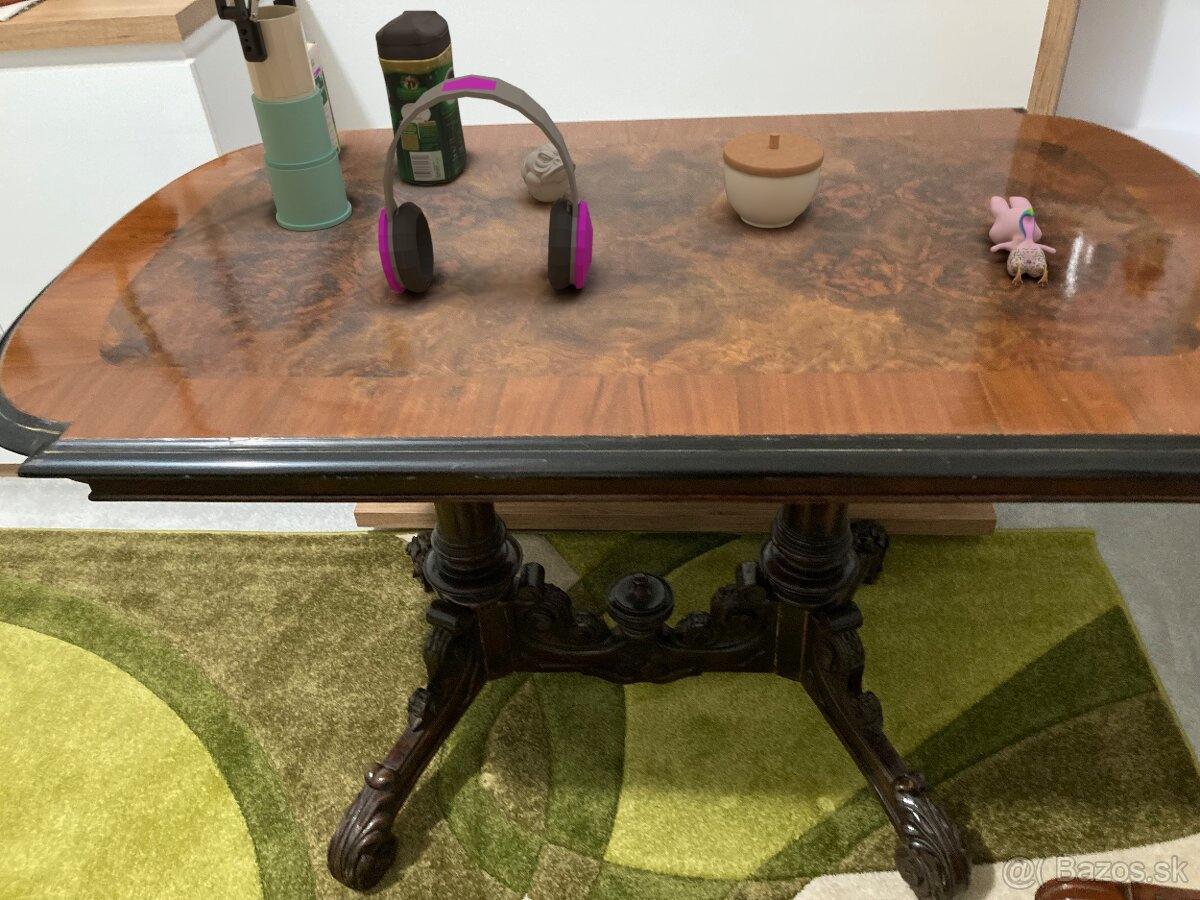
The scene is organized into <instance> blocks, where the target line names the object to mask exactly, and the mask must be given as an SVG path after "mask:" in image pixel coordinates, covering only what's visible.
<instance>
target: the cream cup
mask: <svg viewBox="0 0 1200 900" xmlns="http://www.w3.org/2000/svg"><path fill="white" fill-rule="evenodd" d="M257 21H259V22H260V26H261V30H262V34H263V38H264V42H265V46H266V51H267V55H268V58H267V60H265V61H264V62H248V61H246V59H245V58H244V62H245V65H246V70H247V73H248V74H247V75H248V78H249V81H250V85H251V88H252V92H253V93H254V95H255V98H256V99H258V100H260V101H263V102H272V103H278V102H289V101H295V100H299V99H303V98H306V97H308V96H310V95H312V94H313V93H315V91H316V86H315V79H314V75H313V70H312V65H311V61H310V56H309V52H308V47H307V42H306V41H307V38H306V33H305V29H304V24H303V20H302V15H301V10H300V8H298V6H297V7H294V6H289V5H274V4H271V5H270V4H269V5H260V6H258V19H257ZM235 27H236V26H235ZM236 29H237V27H236ZM240 48H242V46H241V45H240ZM241 50H242V49H241ZM242 52H243V50H242ZM242 54H243V53H242ZM243 56H244V54H243Z"/></svg>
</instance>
